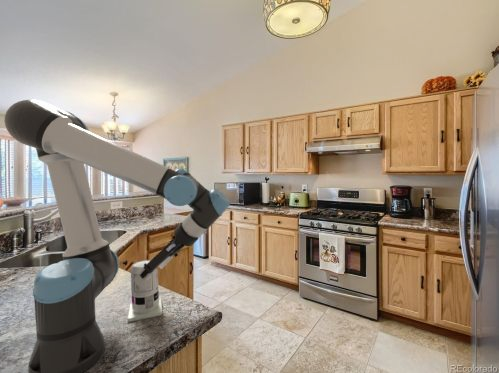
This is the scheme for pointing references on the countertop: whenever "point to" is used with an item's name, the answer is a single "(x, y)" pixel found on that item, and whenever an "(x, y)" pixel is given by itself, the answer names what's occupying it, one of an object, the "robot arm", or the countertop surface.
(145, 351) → the countertop surface
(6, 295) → the countertop surface
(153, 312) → the white square coaster
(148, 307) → the supplement can
